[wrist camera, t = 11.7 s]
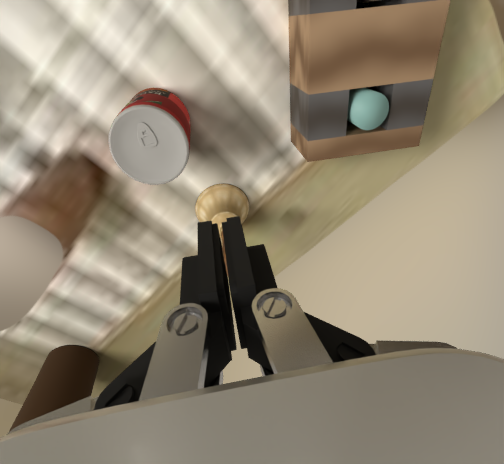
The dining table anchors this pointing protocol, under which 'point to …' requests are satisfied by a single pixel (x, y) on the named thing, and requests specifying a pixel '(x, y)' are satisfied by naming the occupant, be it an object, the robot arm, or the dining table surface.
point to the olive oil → (60, 382)
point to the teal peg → (367, 108)
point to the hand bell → (221, 206)
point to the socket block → (361, 71)
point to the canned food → (151, 137)
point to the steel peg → (360, 0)
